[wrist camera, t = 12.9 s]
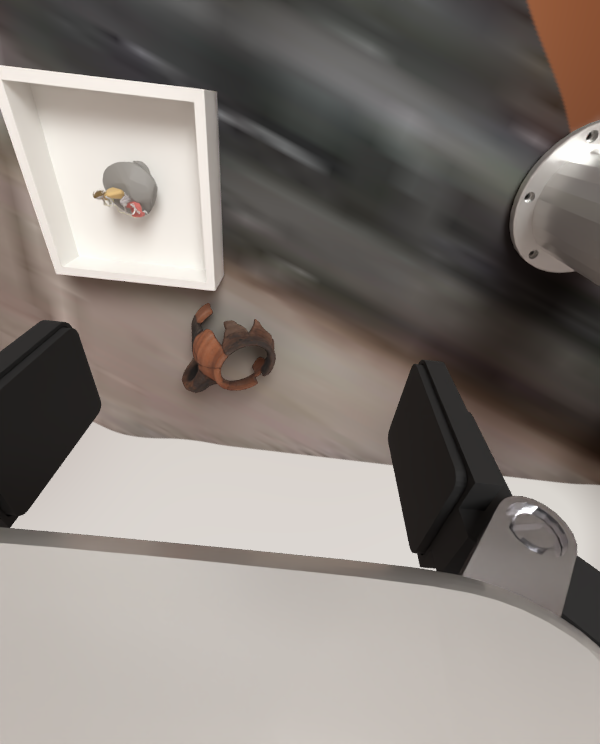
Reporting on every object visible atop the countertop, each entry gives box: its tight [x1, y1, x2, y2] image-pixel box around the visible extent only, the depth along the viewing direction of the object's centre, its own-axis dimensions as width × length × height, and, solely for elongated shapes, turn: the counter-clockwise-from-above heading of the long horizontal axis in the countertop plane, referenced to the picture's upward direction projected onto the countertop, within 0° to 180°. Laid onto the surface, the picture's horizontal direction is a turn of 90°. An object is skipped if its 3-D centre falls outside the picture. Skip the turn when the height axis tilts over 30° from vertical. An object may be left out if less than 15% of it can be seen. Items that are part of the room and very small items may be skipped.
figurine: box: [93, 161, 158, 218], centre depth 30 cm, size 5×4×6 cm
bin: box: [0, 65, 224, 291], centre depth 31 cm, size 16×16×4 cm
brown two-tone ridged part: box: [182, 303, 276, 393], centre depth 41 cm, size 12×10×8 cm
